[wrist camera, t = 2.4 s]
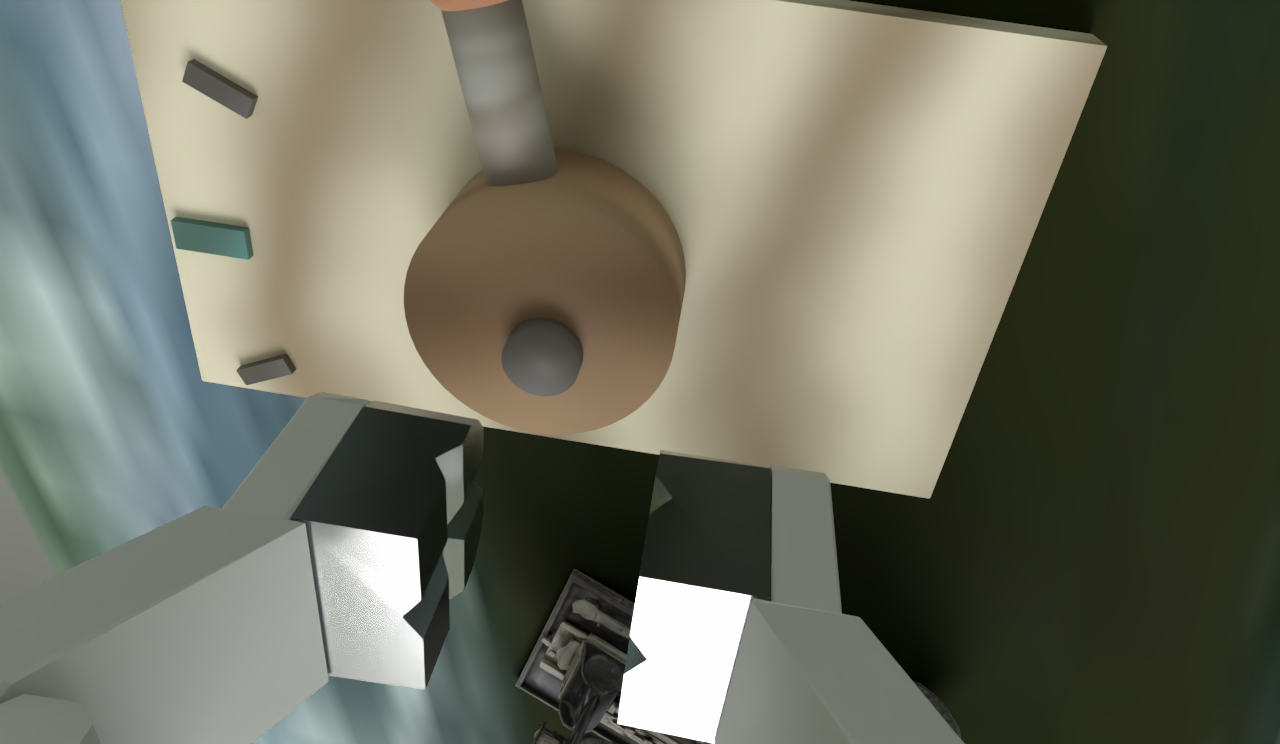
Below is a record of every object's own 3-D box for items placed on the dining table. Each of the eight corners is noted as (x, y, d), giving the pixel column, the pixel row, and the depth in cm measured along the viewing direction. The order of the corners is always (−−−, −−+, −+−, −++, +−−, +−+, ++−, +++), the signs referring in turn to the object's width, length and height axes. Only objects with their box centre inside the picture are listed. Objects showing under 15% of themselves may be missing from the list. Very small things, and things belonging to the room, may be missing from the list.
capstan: (699, 366, 26) (690, 442, 23) (475, 381, 27) (439, 453, 24) (627, -146, 19) (600, -133, 16) (330, -94, 20) (254, -73, 17)
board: (1091, 33, 21) (1111, 49, 20) (924, 474, 29) (931, 505, 28) (130, -99, 22) (91, -92, 21) (220, 361, 30) (197, 386, 29)
